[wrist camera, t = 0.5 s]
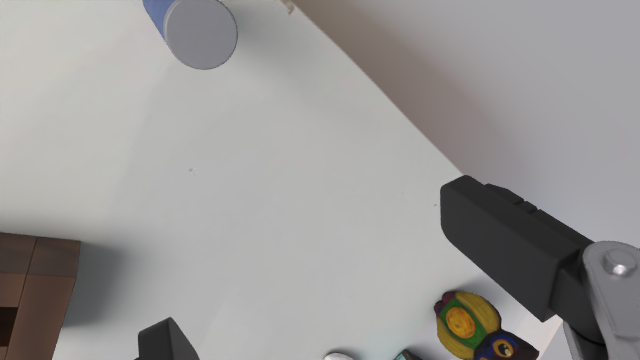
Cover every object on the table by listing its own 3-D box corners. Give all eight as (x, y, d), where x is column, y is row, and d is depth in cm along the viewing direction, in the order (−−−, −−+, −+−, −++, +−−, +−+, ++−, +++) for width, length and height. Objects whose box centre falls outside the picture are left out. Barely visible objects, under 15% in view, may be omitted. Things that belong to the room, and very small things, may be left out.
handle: (137, 12, 29) (155, 54, 16) (149, -30, 28) (177, -20, 15) (178, 29, 30) (224, 80, 18) (190, -10, 29) (248, 14, 17)
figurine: (453, 274, 63) (532, 348, 51) (473, 284, 67) (550, 354, 55) (416, 319, 64) (484, 401, 53) (438, 326, 69) (506, 403, 57)
